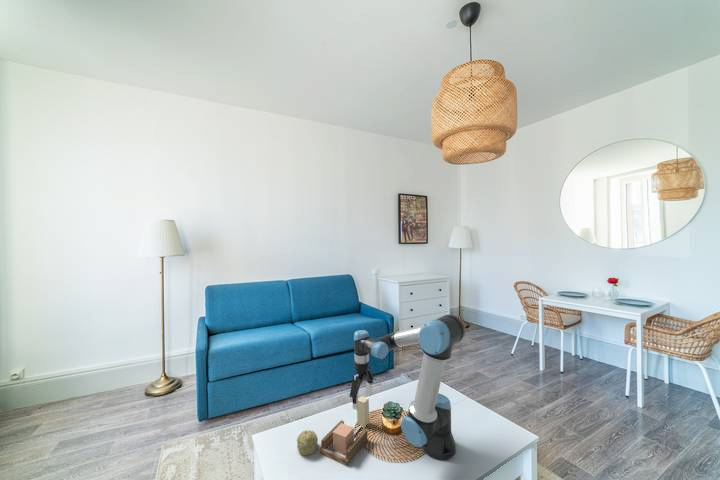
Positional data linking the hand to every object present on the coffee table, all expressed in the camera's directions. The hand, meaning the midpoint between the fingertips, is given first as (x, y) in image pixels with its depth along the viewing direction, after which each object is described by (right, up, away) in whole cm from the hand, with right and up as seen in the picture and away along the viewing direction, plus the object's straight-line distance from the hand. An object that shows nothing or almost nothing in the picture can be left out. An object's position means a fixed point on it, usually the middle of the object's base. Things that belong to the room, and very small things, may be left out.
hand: (362, 401), depth 144 cm
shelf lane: (-8, -12, -15) cm, 21 cm away
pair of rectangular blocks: (-4, -12, -8) cm, 15 cm away
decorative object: (-25, -13, -16) cm, 33 cm away
